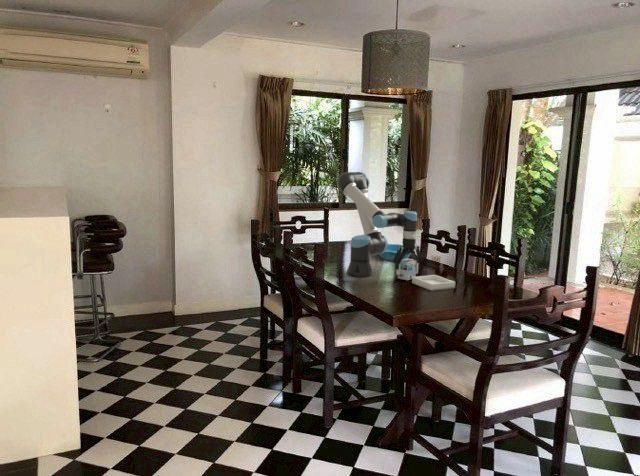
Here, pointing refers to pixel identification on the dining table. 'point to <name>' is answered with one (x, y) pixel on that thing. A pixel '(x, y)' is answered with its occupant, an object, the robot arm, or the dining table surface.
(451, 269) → the dining table surface
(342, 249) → the dining table surface
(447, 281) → the tray
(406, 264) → the light bulb box
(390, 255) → the casserole dish
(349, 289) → the dining table surface
